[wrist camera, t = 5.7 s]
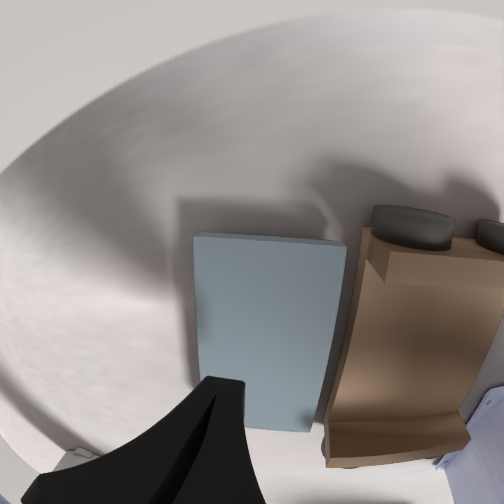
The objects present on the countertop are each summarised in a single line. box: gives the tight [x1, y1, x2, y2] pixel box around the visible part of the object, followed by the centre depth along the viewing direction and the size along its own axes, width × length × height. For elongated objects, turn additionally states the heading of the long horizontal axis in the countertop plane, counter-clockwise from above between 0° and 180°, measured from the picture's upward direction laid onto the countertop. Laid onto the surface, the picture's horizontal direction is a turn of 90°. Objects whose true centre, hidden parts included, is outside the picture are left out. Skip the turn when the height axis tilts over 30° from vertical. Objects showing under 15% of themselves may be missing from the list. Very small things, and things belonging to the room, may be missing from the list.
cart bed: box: [321, 205, 504, 469], centre depth 11 cm, size 13×8×4 cm, turn 178°
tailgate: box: [193, 232, 347, 432], centre depth 12 cm, size 10×1×6 cm
